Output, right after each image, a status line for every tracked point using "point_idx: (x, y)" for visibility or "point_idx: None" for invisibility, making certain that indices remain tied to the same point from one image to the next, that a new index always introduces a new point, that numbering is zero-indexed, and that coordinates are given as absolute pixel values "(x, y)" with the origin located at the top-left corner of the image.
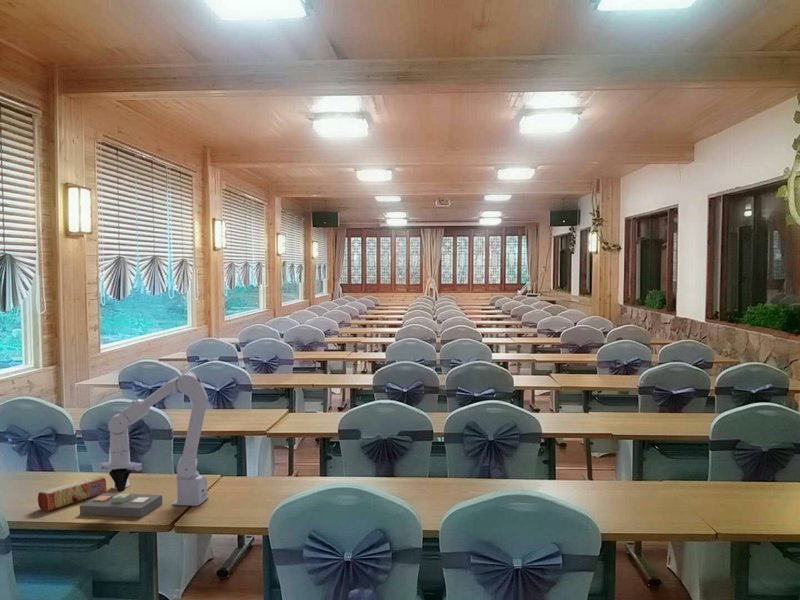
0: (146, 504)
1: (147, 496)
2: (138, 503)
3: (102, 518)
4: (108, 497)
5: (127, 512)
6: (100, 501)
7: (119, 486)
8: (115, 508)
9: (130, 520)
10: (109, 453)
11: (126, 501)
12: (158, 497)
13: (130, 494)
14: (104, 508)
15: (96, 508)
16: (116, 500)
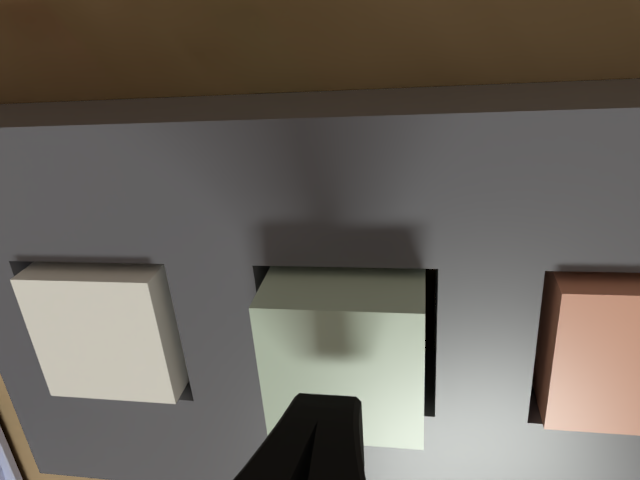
0: None
1: (144, 444)
2: (71, 269)
3: (400, 3)
4: (563, 388)
5: (108, 108)
6: (622, 286)
7: (280, 452)
8: (251, 114)
9: (25, 8)
10: None
11: None
12: (22, 424)
13: (269, 431)
14: (427, 107)
15: (566, 102)
16: (361, 292)
